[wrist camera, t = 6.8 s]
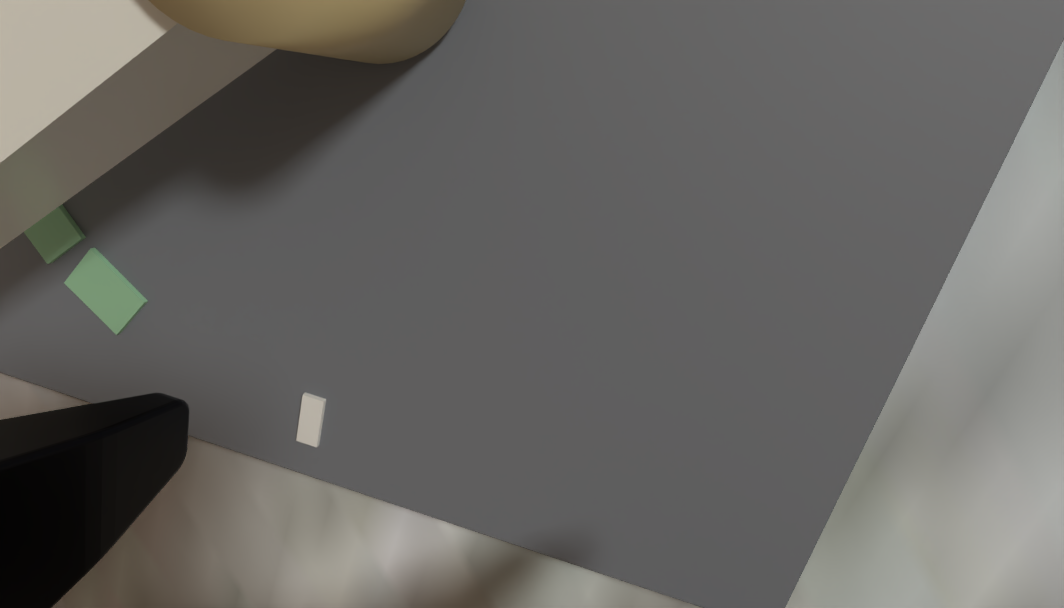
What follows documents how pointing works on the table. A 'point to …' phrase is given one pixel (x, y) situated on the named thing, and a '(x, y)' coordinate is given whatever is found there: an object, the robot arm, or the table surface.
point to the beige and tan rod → (156, 74)
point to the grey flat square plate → (554, 266)
